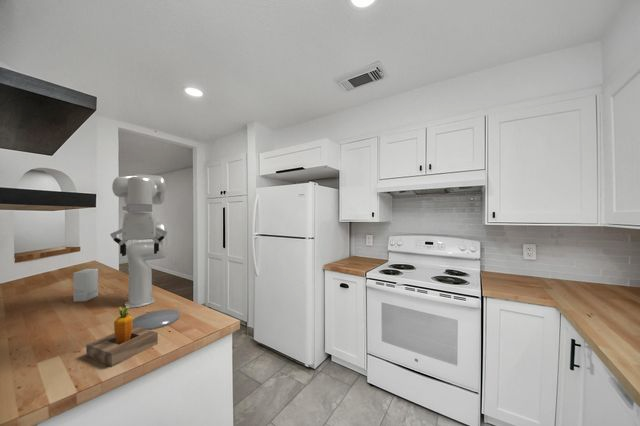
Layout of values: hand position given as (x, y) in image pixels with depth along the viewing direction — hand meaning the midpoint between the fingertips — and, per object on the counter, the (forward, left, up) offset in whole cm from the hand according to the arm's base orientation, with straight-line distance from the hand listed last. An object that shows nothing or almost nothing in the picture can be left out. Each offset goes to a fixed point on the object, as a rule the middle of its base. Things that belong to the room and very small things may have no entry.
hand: (140, 254), depth 90 cm
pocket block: (+4, -8, -31) cm, 32 cm away
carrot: (+4, -8, -32) cm, 33 cm away
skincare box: (-69, +14, -32) cm, 78 cm away
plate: (-8, +11, -31) cm, 34 cm away
